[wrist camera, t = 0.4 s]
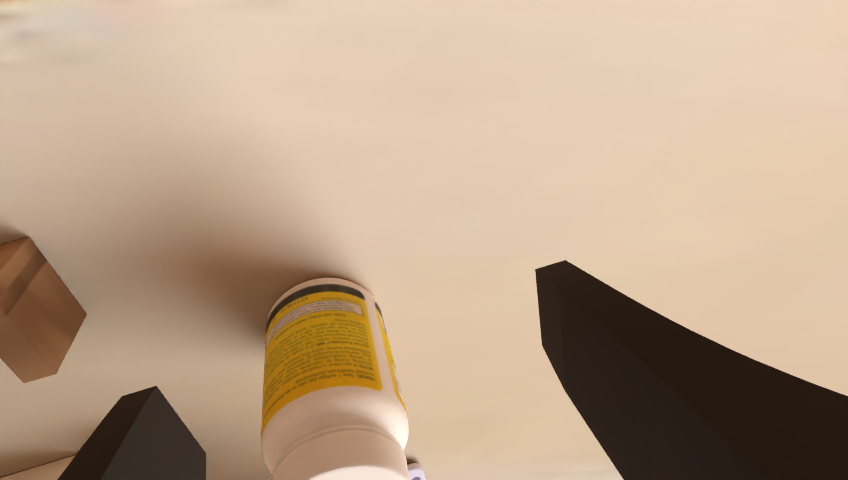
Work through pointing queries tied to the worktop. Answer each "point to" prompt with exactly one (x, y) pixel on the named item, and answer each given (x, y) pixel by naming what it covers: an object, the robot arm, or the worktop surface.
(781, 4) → the worktop surface
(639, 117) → the worktop surface
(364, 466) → the supplement bottle
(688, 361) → the robot arm
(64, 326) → the socket box
